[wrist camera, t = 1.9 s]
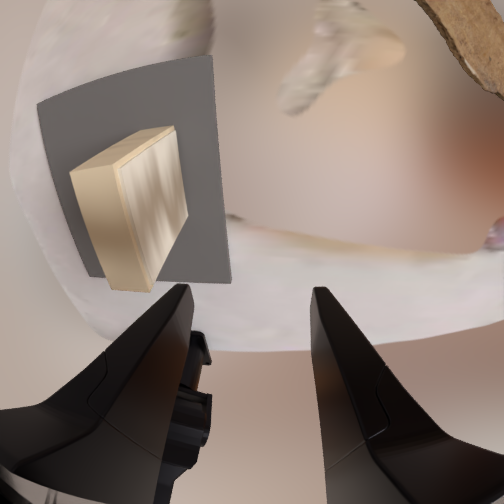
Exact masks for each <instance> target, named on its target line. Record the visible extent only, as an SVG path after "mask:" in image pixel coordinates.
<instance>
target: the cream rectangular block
mask: <svg viewBox="0 0 504 504" xmlns="http://www.w3.org/2000/svg"><path fill="white" fill-rule="evenodd" d="M69 173H70V176H71V180H72V184H73V187H74V191H75V194H76V197H77V200H78V204H79V207H80V210H81V213H82V216H83V219H84V222H85V225H86V228H87V230H88V233H89V236H90V239H91V241H92V244H93V247H94V249H95V252H96V254H97V257H98V259H99V262H100V264H101V266H102V269H103V271H104V273H105V276H106V278H107V280H108V283H109V285H110V287H111V289H112V290H122V291H134V292H148V293H150V291H151V289H152V287H153V285H154V283H155V281H156V279H157V276H158V274H159V272H160V270H161V268H162V266H163V264H164V262H165V260H166V258H167V256H168V254H169V252H170V250H171V248H172V246H173V244H174V242H175V240H176V238H177V236H178V234H179V233H180V231H181V229H182V227H183V225H184V223H185V221H186V219H187V217H188V211H187V205H186V199H185V193H184V186H183V180H182V173H181V166H180V159H179V151H178V144H177V136H176V130H174V125H173V126H165V127H158V128H151V129H145V130H140V131H138V132H136V133H134V134H132V135H130V136H128V137H127V138H125V139H123V140H121V141H119V142H117V143H116V144H114V145H112V146H110V147H109V148H107V149H105V150H104V151H102V152H100V153H99V154H97V155H95V156H94V157H92V158H91V159H89V160H87V161H86V162H84V163H83V164H81V165H80V166H78V167H77V168H75V169H74V170H72V171H71V172H69Z"/></svg>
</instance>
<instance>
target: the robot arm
mask: <svg viewBox="0 0 504 504" xmlns="http://www.w3.org/2000/svg"><path fill="white" fill-rule="evenodd" d="M193 312H194V300H193V296H192V292H191V288H190V286H189V285H188V284H176V285H174V286H173V287H172V288H171V289H170V290H169V291H168V292H167V293H166V294H164V295H163V296H162V297H161V298H160V299H159V300H158V301H157V302H156V303H155V304H153V305H152V306H151V307H150V308H149V309H148V310H147V311H146V312H145V313H144V314H143V315H142V316H140V317H139V318H138V319H137V320H136V321H135V322H134V323H133V324H132V325H131V326H130V327H129V328H128V329H127V330H125V331H124V332H123V333H122V334H121V335H120V336H119V337H118V338H117V339H116V340H115V341H114V342H113V343H112V344H111V345H110V346H109V347H108V348H106V350H105V351H103V352H102V353H101V354H100V355H99V356H98V357H97V358H96V359H95V360H94V361H93V362H92V363H90V364H89V365H88V366H87V367H86V368H85V369H84V370H83V371H81V372H80V373H79V374H78V375H77V376H75V377H74V378H73V379H72V380H70V381H69V382H68V383H67V384H66V385H64V386H63V387H62V388H60V389H59V390H58V391H57V392H55V393H54V394H53V395H52V396H50V397H49V398H48V399H46V400H45V401H43V402H41V403H39V404H37V405H33V406H28V407H20V408H12V409H4V410H0V504H169V503H170V498H171V494H172V489H173V484H174V481H175V480H176V479H177V478H178V477H179V476H180V475H181V474H183V473H184V472H185V471H186V470H187V469H191V468H192V467H193V465H195V464H196V462H197V459H198V454H199V450H200V447H203V446H204V445H205V444H206V442H207V439H208V436H209V432H210V427H211V409H212V394H208V393H207V394H205V393H201V392H198V391H197V388H198V383H199V379H200V374H201V369H202V365H211V363H212V360H211V357H210V353H209V350H208V346H207V343H206V339H205V335H204V334H203V333H201V332H191V326H192V319H193ZM310 326H311V355H312V364H313V371H314V379H315V385H316V394H317V401H318V410H319V418H320V428H321V436H322V447H323V457H324V468H325V481H326V494H327V504H504V455H502V454H499V453H496V452H493V451H490V450H487V449H483V448H481V447H478V446H475V445H472V444H469V443H466V442H463V441H461V440H458V439H456V438H453V437H452V436H450V435H449V434H447V433H446V432H445V431H443V430H442V429H441V428H440V427H439V426H438V425H437V424H436V423H435V422H434V420H433V419H432V418H431V417H430V416H429V415H428V414H427V413H426V412H425V411H424V409H423V408H422V407H421V406H420V405H419V404H418V403H417V402H416V401H415V400H414V399H413V397H412V396H411V395H410V394H409V393H408V392H407V390H406V389H405V388H404V387H403V386H402V385H401V383H400V382H399V380H398V379H397V378H396V377H395V375H394V374H393V373H392V371H391V370H390V369H389V368H388V366H385V365H386V364H385V362H384V361H383V359H382V358H381V357H380V355H379V354H378V353H377V351H376V350H375V349H374V347H373V346H372V345H371V343H370V342H369V341H368V339H367V338H366V337H365V335H364V334H363V333H362V331H361V330H360V329H359V328H358V326H357V325H356V324H355V322H354V321H353V320H352V318H351V317H350V316H349V315H348V313H347V312H346V311H345V309H344V308H343V307H342V306H341V304H340V303H339V302H338V301H337V299H336V298H335V297H334V296H333V294H332V293H331V292H330V290H329V289H328V288H327V287H314V288H313V291H312V298H311V305H310Z"/></svg>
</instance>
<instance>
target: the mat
mask: <svg viewBox="0 0 504 504" xmlns="http://www.w3.org/2000/svg"><path fill="white" fill-rule="evenodd" d="M37 108H38V115H39V120H40V126H41V131H42V136H43V141H44V145H45V150H46V154H47V158H48V162H49V166H50V170H51V173H52V177H53V180H54V184H55V187H56V191H57V194H58V197H59V200H60V203H61V206H62V209H63V212H64V215H65V218H66V220H67V223H68V226H69V229H70V231H71V234H72V236H73V239H74V241H75V244H76V246H77V249H78V251H79V254H80V256H81V258H82V261H83V263H84V265H85V267H86V270H87V272H88V274H89V276H90V277H101V278H106V276H105V273H104V271H103V269H102V266H101V264H100V262H99V259H98V257H97V254H96V252H95V249H94V247H93V244H92V241H91V239H90V236H89V233H88V230H87V228H86V225H85V222H84V219H83V216H82V213H81V210H80V207H79V204H78V200H77V197H76V194H75V191H74V187H73V184H72V180H71V176H70V173H69V172H71V171H72V170H74V169H75V168H77V167H78V166H80V165H81V164H83V163H84V162H86V161H87V160H89V159H91V158H92V157H94V156H95V155H97V154H99V153H100V152H102V151H104V150H105V149H107V148H109V147H110V146H112V145H114V144H116V143H117V142H119V141H121V140H123V139H125V138H127V137H128V136H130V135H132V134H134V133H136V132H138V131H140V130H145V129H151V128H158V127H165V126H173V125H174V130H176V136H177V144H178V151H179V159H180V166H181V173H182V180H183V186H184V193H185V199H186V205H187V211H188V217H187V219H186V221H185V223H184V225H183V227H182V229H181V231H180V233H179V234H178V236H177V238H176V240H175V242H174V244H173V246H172V248H171V250H170V252H169V254H168V256H167V258H166V260H165V262H164V264H163V266H162V268H161V270H160V272H159V274H158V276H157V279H156V281H170V282H194V283H223V284H231V280H232V277H231V268H230V259H229V250H228V240H227V230H226V220H225V210H224V200H223V190H222V178H221V167H220V155H219V143H218V132H217V118H216V104H215V90H214V74H213V58H212V55H204V56H196V57H189V58H183V59H177V60H171V61H166V62H161V63H156V64H152V65H147V66H143V67H139V68H135V69H131V70H127V71H124V72H120V73H117V74H113V75H110V76H107V77H103V78H100V79H97V80H94V81H91V82H89V83H86V84H83V85H80V86H78V87H75V88H72V89H70V90H67V91H65V92H62V93H60V94H58V95H55V96H53V97H51V98H49V99H46V100H44V101H42V102H40V103H38V104H37Z"/></svg>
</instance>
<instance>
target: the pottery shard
mask: <svg viewBox="0 0 504 504" xmlns="http://www.w3.org/2000/svg"><path fill="white" fill-rule="evenodd" d="M414 1H417V3H418V5H419V6H420V7H422V8H423V10H424V11H425V13H426V14H427V15H428V16H429V17H430V19H431V20H432V21H433V23H434V25H435V26H436V27H437V30H438V31H439V32H440V34H441V36H442V37H443V38H444V39H445V40H446V43H447V45H448V47H449V49H450V51H451V52H452V53H453V56H455V57H456V59H457V60H459V63H460V65H461V66H462V68H463V69H464V70H465V72H466V73H467V74H468V75H469V76H470V77H472V78H473V79H474V81H475V82H476V83H478V84H479V85H480V86H481V87H482V89H483V90H485V91H489V92H491V93H495V94H496V95H497V96H498V97H499V98H501V99H502V100H503V101H504V22H503V21H502V18H501V16H500V15H499V13H498V12H497V11H496V10H495V8H494V6H493V4H492V3H491V1H490V0H414Z"/></svg>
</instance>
